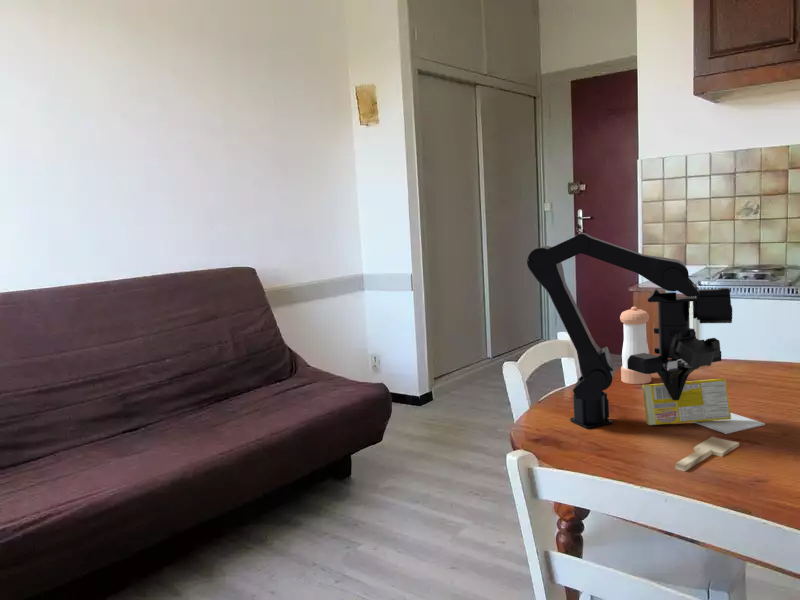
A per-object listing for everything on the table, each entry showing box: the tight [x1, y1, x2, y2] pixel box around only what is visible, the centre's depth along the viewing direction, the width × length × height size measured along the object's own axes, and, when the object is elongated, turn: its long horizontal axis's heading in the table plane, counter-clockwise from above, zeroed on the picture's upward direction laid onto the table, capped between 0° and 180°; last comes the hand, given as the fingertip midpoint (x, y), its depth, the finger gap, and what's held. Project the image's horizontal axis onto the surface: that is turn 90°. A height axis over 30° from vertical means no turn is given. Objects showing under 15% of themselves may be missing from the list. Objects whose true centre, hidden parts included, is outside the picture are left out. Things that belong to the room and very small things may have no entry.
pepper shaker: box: [619, 306, 652, 385], centre depth 165 cm, size 7×7×19 cm
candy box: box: [641, 377, 732, 426], centre depth 132 cm, size 16×2×8 cm, turn 84°
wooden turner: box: [674, 436, 740, 472], centre depth 116 cm, size 17×5×1 cm, turn 130°
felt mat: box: [693, 412, 766, 435], centre depth 134 cm, size 10×16×1 cm, turn 20°
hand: (675, 400), depth 130 cm, fingers closed
